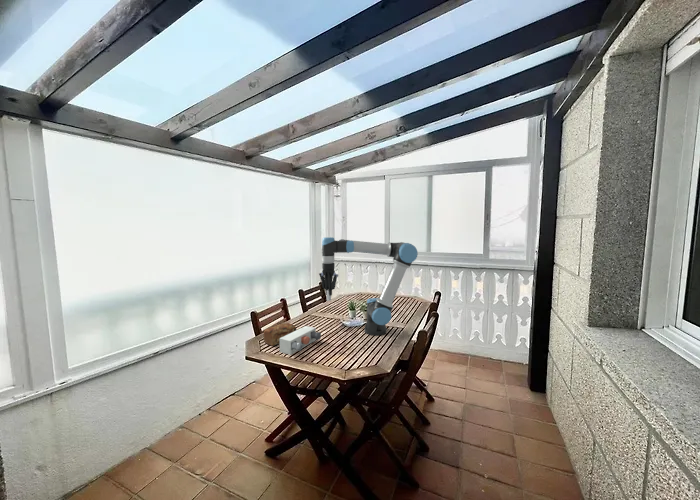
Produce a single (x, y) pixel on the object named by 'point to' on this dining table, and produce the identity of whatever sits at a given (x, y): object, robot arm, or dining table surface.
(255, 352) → the dining table surface
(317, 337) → the grey plug
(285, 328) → the bread
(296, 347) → the steel plug
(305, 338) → the red plug
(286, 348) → the socket block
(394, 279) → the robot arm
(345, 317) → the dining table surface
